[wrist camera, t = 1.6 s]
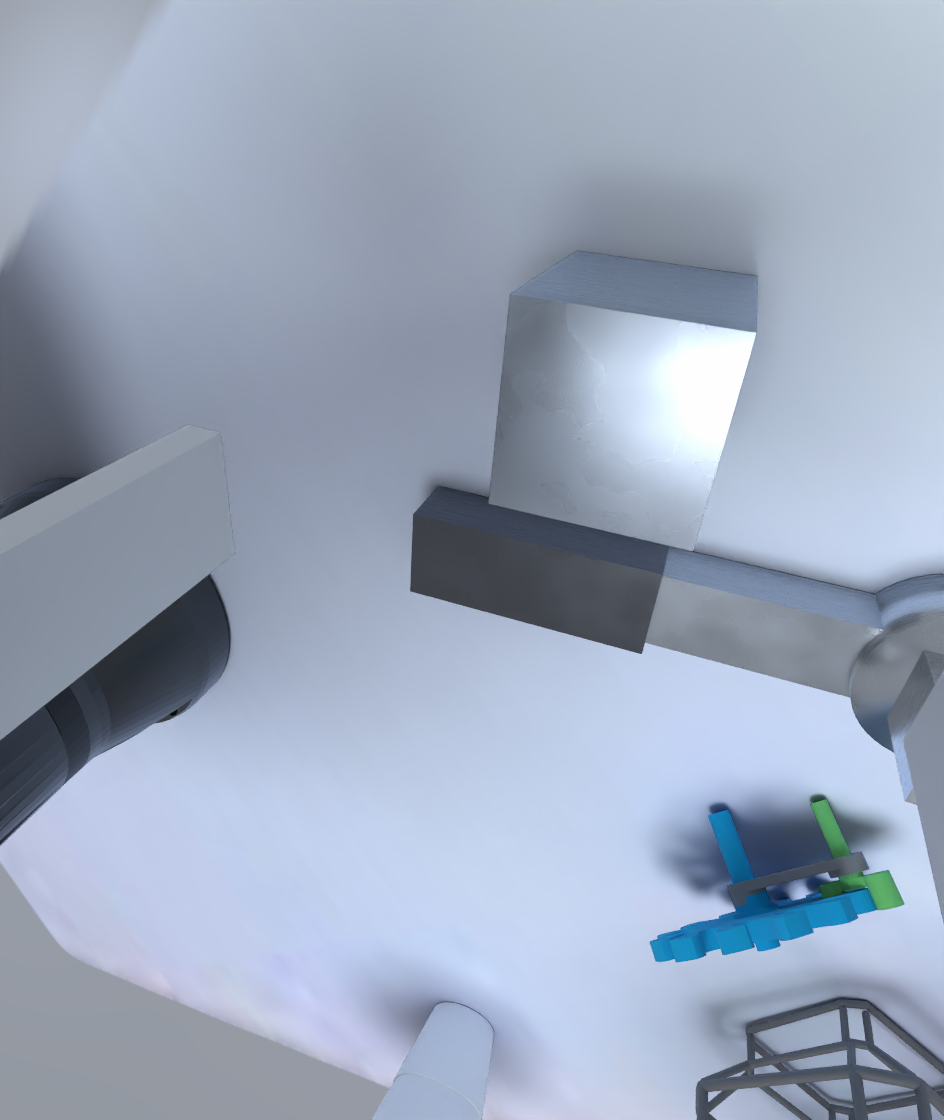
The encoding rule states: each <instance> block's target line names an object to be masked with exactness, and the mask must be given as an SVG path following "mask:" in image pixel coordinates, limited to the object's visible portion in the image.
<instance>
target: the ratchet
mask: <svg viewBox="0 0 944 1120" xmlns="http://www.w3.org/2000/svg"><path fill="white" fill-rule="evenodd" d="M488 503H489V498H488V497H484V496H480V495H475V494H471V493H467V492H462V491H458V490H454V489H449V488H445V487H441V486H438V487H437V489H436V490H435V491H434V492H433V493H432V494H431V495H430V496H429V497H428V498H427V500H426V501H425V502H424V503H423V504H422V505H421V506H420V507H419V508H418V509H417V511H416V512H415V513H414V514H413V535H412V560H411V586H410V591H412V592H415V593H419V594H423V595H426V596H430V597H434V598H437V599H441V600H445V601H448V602H452V603H456V604H459V605H463V606H467V607H471V608H474V609H478V610H482V611H485V612H489V613H493V614H496V615H500V616H504V617H507V618H511V619H515V620H518V621H522V622H526V623H529V624H533V625H537V626H540V627H544V628H548V629H551V630H555V631H559V632H562V633H566V634H570V635H573V636H577V637H581V638H584V639H588V640H592V641H596V642H599V643H603V644H607V645H610V646H614V647H618V648H621V649H625V650H629V651H632V652H636V653H640V654H642V651H643V647H644V644H645V643H649V644H653V645H656V646H660V647H664V648H668V649H671V650H675V651H679V652H682V653H686V654H690V655H694V656H697V657H701V658H705V659H709V660H712V661H716V662H720V663H724V664H727V665H731V666H735V667H738V668H742V669H746V670H750V671H753V672H757V673H761V674H765V675H768V676H772V677H776V678H780V679H783V680H787V681H791V682H794V683H798V684H802V685H806V686H809V687H813V688H817V689H821V690H824V691H828V692H832V693H836V694H839V695H843V696H847V697H851V703H852V708H853V711H854V714H855V716H856V718H857V720H858V722H859V723H860V725H861V726H862V727H863V729H864V730H865V731H866V732H867V733H868V734H869V735H870V736H871V737H872V738H873V739H874V740H875V741H876V742H878V743H879V744H881V745H882V746H883V747H885V748H887V749H889V750H890V751H892V752H894V753H895V758H896V763H897V767H898V772H899V777H900V781H901V786H902V791H903V795H904V800H905V801H906V802H910V803H913V804H916V805H917V802H916V797H915V793H914V788H913V784H912V779H911V775H910V770H909V766H908V761H907V757H906V752H905V748H904V743H903V740H904V738H905V737H906V735H907V733H908V731H909V730H910V728H911V726H912V724H913V723H914V721H915V719H916V718H917V716H918V714H919V712H920V711H921V709H922V707H923V705H924V704H925V702H926V700H927V698H928V697H929V695H930V693H931V691H932V690H933V688H934V686H935V685H936V683H937V681H938V679H939V678H940V676H941V674H942V672H943V671H944V574H937V575H928V576H921V577H916V578H912V579H908V580H905V581H902V582H899V583H896V584H894V585H892V586H889V587H887V588H885V589H883V590H882V591H880V592H878V593H877V594H872V593H867V592H863V591H859V590H855V589H850V588H846V587H842V586H838V585H833V584H829V583H825V582H820V581H816V580H812V579H808V578H803V577H799V576H795V575H790V574H786V573H782V572H778V571H773V570H769V569H765V568H761V567H756V566H752V565H748V564H743V563H739V562H735V561H731V560H726V559H722V558H718V557H713V556H709V555H705V554H701V553H696V552H692V551H688V550H684V549H679V548H675V547H671V546H668V545H664V544H659V543H655V542H651V541H647V540H642V539H638V538H634V537H629V536H625V535H621V534H617V533H612V532H608V531H604V530H599V529H595V528H591V527H587V526H582V525H578V524H574V523H569V522H565V521H561V520H557V519H552V518H548V517H544V516H540V515H535V514H531V513H527V512H522V511H518V510H514V509H510V508H505V507H501V506H497V505H492V504H488Z"/></svg>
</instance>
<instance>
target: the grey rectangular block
mask: <svg viewBox="0 0 944 1120" xmlns="http://www.w3.org/2000/svg"><path fill="white" fill-rule="evenodd" d="M757 286H758V276H753V275H746V274H739V273H732V272H725V271H717V270H710V269H703V268H696V267H689V266H682V265H675V264H668V263H660V262H653V261H646V260H639V259H632V258H625V257H618V256H611V255H603V254H596V253H589V252H582V251H575V252H574V253H572V254H571V255H569V256H568V257H566V258H565V259H563V260H561V261H560V262H558V263H557V264H555V265H554V266H552V267H551V268H549V269H548V270H546V271H545V272H543V273H541V274H540V275H538V276H537V277H535V278H534V279H532V280H531V281H529V282H528V283H526V284H524V285H523V286H521V287H520V288H518V289H517V290H515V291H514V292H512V293H511V294H510V300H509V309H508V319H507V329H506V338H505V348H504V358H503V367H502V377H501V387H500V397H499V406H498V416H497V426H496V435H495V445H494V455H493V464H492V474H491V484H490V494H489V503H488V504H492V505H497V506H501V507H505V508H510V509H514V510H518V511H522V512H527V513H531V514H535V515H540V516H544V517H548V518H552V519H557V520H561V521H565V522H569V523H574V524H578V525H582V526H587V527H591V528H595V529H599V530H604V531H608V532H612V533H617V534H621V535H625V536H629V537H634V538H638V539H642V540H647V541H651V542H655V543H659V544H664V545H668V546H672V547H676V548H681V549H685V550H689V551H693V550H694V546H695V543H696V540H697V536H698V533H699V529H700V526H701V522H702V519H703V515H704V512H705V508H706V505H707V502H708V498H709V495H710V491H711V488H712V484H713V481H714V477H715V474H716V471H717V467H718V464H719V460H720V457H721V453H722V450H723V446H724V443H725V440H726V436H727V433H728V429H729V426H730V422H731V419H732V415H733V412H734V408H735V405H736V402H737V398H738V395H739V391H740V388H741V384H742V381H743V377H744V374H745V371H746V367H747V364H748V360H749V357H750V353H751V350H752V346H753V343H754V339H755V336H756V329H757Z"/></svg>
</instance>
